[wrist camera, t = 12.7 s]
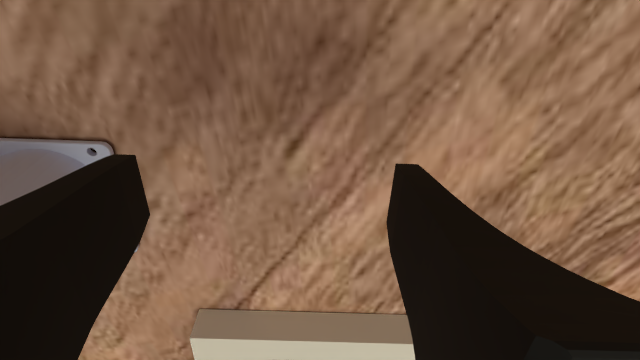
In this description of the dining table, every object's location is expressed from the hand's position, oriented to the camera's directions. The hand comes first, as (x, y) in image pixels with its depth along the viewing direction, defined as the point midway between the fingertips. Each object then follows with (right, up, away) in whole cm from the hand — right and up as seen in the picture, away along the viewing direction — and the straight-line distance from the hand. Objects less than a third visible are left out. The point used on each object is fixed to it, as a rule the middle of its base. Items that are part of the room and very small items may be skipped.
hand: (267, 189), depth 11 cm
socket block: (+1, -15, +22) cm, 26 cm away
